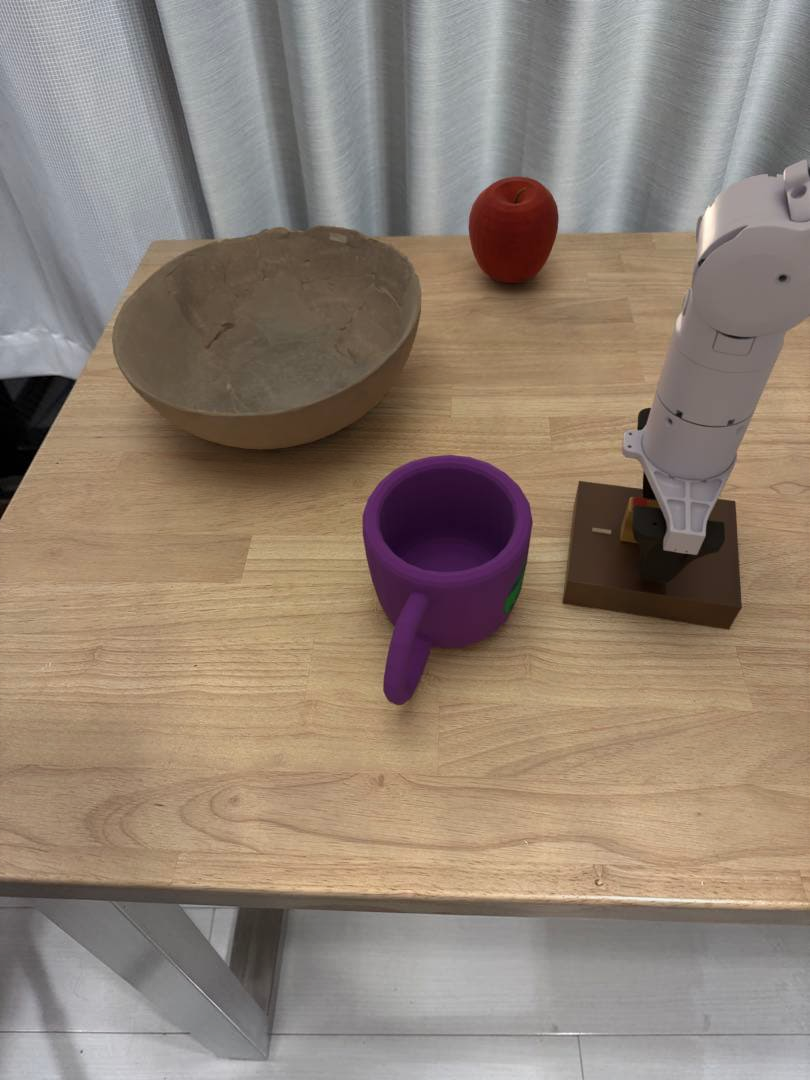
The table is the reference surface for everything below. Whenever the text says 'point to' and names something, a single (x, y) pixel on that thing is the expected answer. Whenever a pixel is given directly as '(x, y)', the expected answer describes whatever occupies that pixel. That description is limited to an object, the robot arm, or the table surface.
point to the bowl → (271, 334)
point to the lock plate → (613, 565)
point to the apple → (513, 229)
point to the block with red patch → (628, 517)
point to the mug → (443, 558)
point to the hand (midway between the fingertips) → (655, 535)
